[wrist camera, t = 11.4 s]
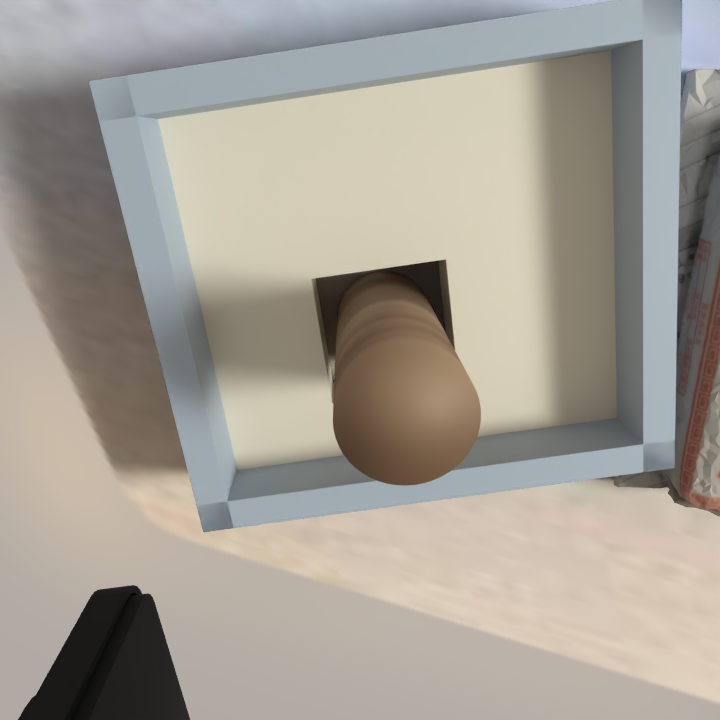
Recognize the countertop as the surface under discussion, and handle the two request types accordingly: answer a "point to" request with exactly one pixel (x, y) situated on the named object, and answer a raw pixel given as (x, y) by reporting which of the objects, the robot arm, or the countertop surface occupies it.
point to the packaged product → (696, 305)
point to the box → (413, 244)
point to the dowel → (399, 385)
